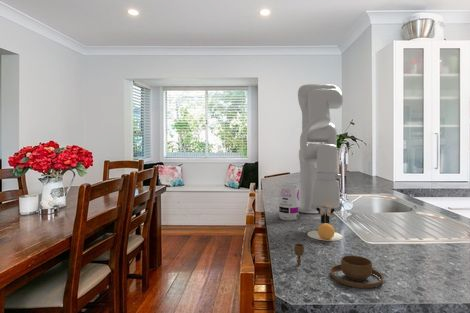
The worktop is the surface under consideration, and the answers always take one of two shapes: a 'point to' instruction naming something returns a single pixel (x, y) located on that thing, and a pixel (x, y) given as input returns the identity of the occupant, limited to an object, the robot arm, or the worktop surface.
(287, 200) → the supplement can
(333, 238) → the disc
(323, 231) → the ball
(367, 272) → the place setting
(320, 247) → the worktop surface
